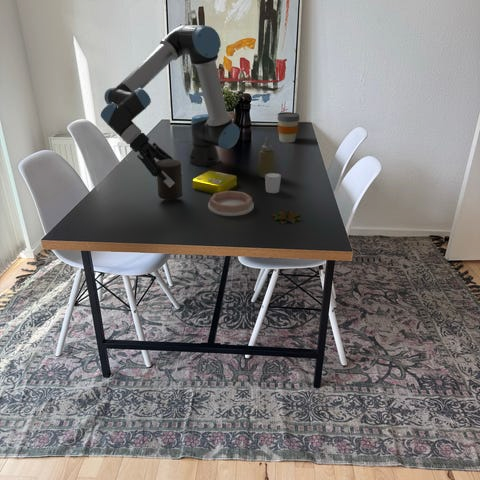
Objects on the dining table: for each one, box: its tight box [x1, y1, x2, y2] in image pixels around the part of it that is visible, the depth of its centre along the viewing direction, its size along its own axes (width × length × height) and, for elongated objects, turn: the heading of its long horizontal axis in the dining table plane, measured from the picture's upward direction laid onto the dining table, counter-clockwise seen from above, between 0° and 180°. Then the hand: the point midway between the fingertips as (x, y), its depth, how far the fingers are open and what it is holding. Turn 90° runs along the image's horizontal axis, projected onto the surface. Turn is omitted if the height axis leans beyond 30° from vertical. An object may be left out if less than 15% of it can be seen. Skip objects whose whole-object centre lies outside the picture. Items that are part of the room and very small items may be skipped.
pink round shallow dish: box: [207, 190, 255, 217], centre depth 179 cm, size 18×18×4 cm
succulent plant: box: [272, 207, 303, 225], centre depth 170 cm, size 12×12×5 cm
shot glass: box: [264, 172, 282, 194], centre depth 194 cm, size 7×7×7 cm
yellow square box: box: [192, 170, 238, 195], centre depth 199 cm, size 15×15×5 cm
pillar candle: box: [156, 158, 183, 200], centre depth 180 cm, size 10×10×15 cm
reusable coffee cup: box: [277, 111, 300, 144], centre depth 263 cm, size 12×13×15 cm
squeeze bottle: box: [257, 137, 276, 179], centre depth 207 cm, size 8×8×18 cm
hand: (176, 180), depth 180 cm, fingers closed on pillar candle, 9 cm apart
